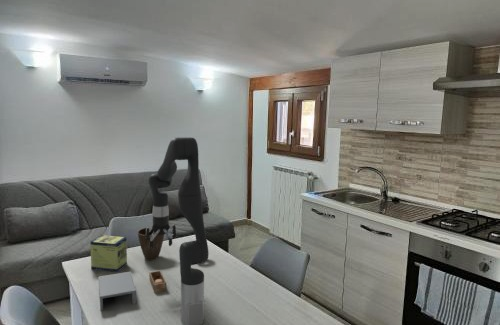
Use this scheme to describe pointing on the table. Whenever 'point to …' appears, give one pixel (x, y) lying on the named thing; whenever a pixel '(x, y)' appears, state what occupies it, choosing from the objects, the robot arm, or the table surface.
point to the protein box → (108, 253)
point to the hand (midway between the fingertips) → (161, 246)
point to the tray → (155, 276)
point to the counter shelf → (116, 286)
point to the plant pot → (145, 244)
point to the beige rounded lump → (158, 281)
